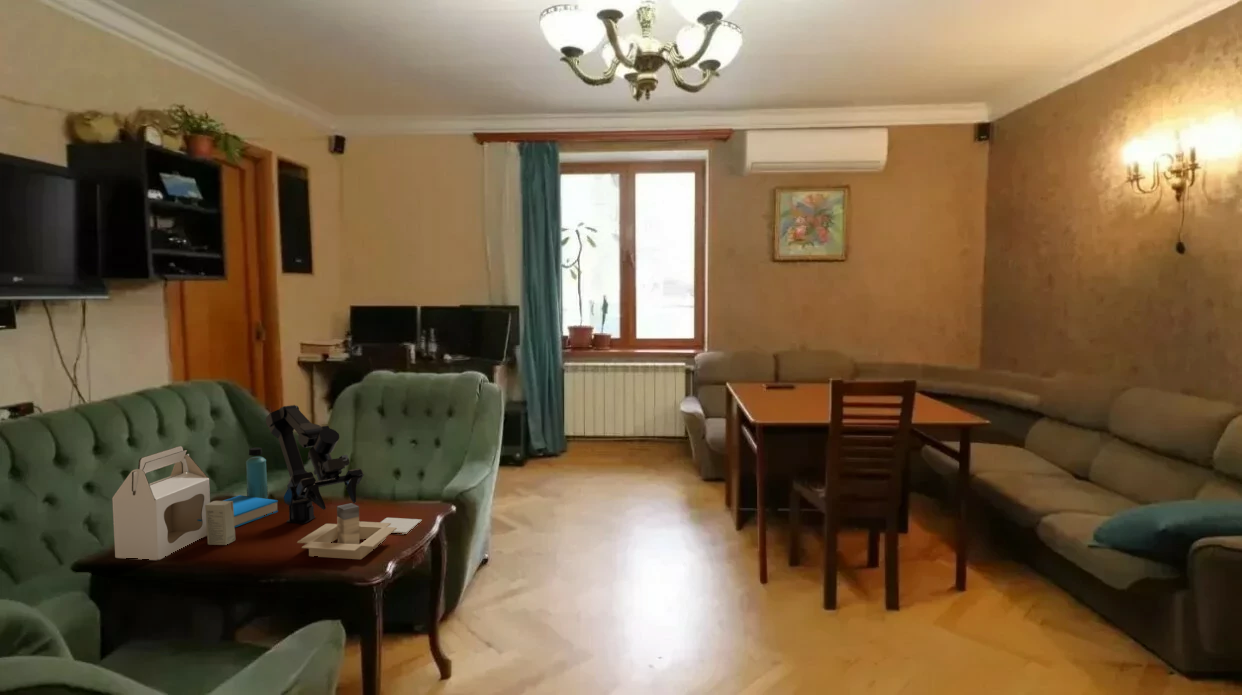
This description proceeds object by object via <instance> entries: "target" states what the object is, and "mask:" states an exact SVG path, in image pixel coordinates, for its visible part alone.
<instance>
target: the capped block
mask: <svg viewBox="0 0 1242 695" xmlns="http://www.w3.org/2000/svg"><path fill="white" fill-rule="evenodd" d="M359 521H360V506H359V505H356V503H353V502H350V503H346V504H342V505H337V506H336V522H337V523H336V524H337V535H338V539H337V543H343V544H359V545H360V544H361V541H360V540H361V539H359Z"/></svg>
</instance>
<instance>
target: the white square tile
mask: <svg viewBox="0 0 1242 695" xmlns="http://www.w3.org/2000/svg"><path fill="white" fill-rule="evenodd" d="M421 521H423V519H418V518H400V517H386V518H385V517H384V519H383V520H381V521H380V522H379V523H391V524H390V525H389V526H388V527H394V528H397V529H396V530H394V531H393V532H392V533H402V534H401V535H404V534H407V533H408V532H409V531H410V530H411V529H413V528H414V527H415V526H416V525H417V524H418V523H420V522H421ZM421 523H422V522H421ZM421 523H420V524H421ZM417 526H418V525H417ZM417 526H416V527H417ZM416 527H415V528H416ZM415 528H414V529H415ZM414 529H413V530H414ZM411 531H412V530H411ZM411 531H410V532H411ZM410 532H409V533H410ZM409 533H408V534H409ZM408 534H407V535H408Z"/></svg>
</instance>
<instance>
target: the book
mask: <svg viewBox="0 0 1242 695" xmlns="http://www.w3.org/2000/svg"><path fill="white" fill-rule="evenodd" d="M222 501H233V509H234V525H235V528H237V527H240V526H243V525H245V524H249V523H251V522H254V521H257V520H259V519H262V518H264V517H265V518H266V517H268V516H269V515H273V514H276V513H278V512H279V510H278V502H279V500H277V499H271V498H267V499H264V498H257V497H250V496H247V495H241V494H239V495H236V496H233V497H231V498H227V499H224V500H222ZM272 512H273V513H272ZM266 514H267V515H266ZM264 515H265V516H264ZM197 521H198V529H199V528H200V527H201V525H202V520H201V519H197Z"/></svg>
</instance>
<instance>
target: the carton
mask: <svg viewBox="0 0 1242 695" xmlns="http://www.w3.org/2000/svg"><path fill="white" fill-rule="evenodd" d="M390 524H391V523H380V522H377V521H360V520H359V539H360V540H363V542H360V545H359V544H343V543H338V542H334V541H337V540H338V535H337V523H325V524H324V525H322V526H320V527H318V528H317V529H315V530H313V531H312V532H310V533H308V534H307V535H306V536H304V537H302V538H300V539H299V540H297V542H296V543H297V544H304V545H303V546H301V549H308V557H314V556H318V557H317V558H332V559H349V560H351V559H352V560H362V559H363V558H365V557H366V556H368V555H369V554H370V553H371V552H372V551H374V550H375V549H376V548H378V547H379V546H380V545H381V544H383V543H384V542H385V541H386V540H387V537H388V536H389V535H392V534H391V533H392V532H393V531H394V530H396V529H397V528H394V527H388V526H389V525H390ZM364 539H366V540H364ZM385 539H386V540H385ZM384 540H385V541H384ZM383 541H384V542H383ZM331 542H332V543H331ZM382 542H383V543H382ZM380 543H381V544H380ZM379 544H380V545H379ZM378 545H379V546H378ZM373 549H374V550H373Z"/></svg>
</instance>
